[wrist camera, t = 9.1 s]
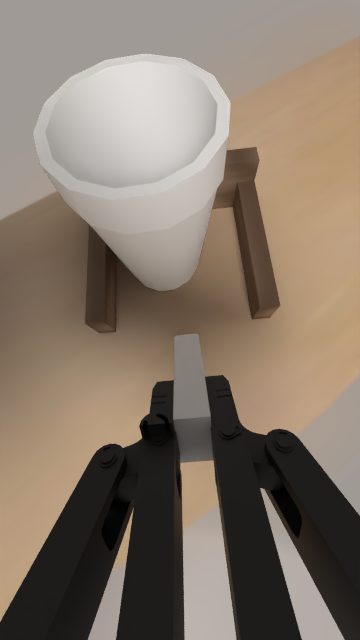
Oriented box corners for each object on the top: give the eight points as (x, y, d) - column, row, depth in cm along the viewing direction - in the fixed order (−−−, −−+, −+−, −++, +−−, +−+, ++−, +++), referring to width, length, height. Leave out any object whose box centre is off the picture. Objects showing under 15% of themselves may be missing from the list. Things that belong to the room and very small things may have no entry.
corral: (99, 333, 23) (73, 315, 18) (102, 209, 27) (81, 167, 22) (269, 317, 22) (289, 295, 17) (245, 193, 26) (256, 147, 21)
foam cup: (126, 217, 26) (62, 55, 14) (216, 221, 25) (234, 51, 13) (109, 303, 23) (9, 196, 11) (209, 311, 23) (223, 204, 10)
